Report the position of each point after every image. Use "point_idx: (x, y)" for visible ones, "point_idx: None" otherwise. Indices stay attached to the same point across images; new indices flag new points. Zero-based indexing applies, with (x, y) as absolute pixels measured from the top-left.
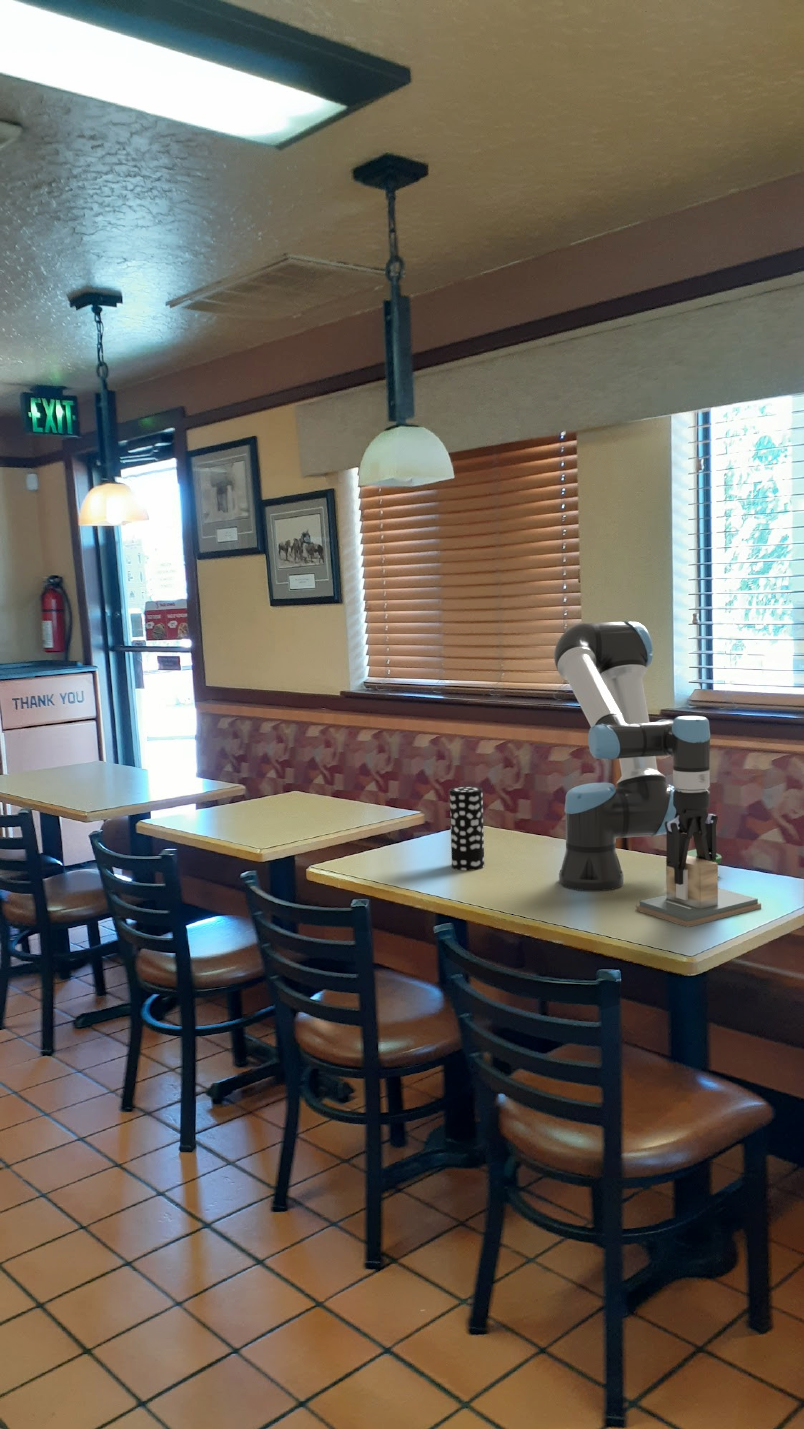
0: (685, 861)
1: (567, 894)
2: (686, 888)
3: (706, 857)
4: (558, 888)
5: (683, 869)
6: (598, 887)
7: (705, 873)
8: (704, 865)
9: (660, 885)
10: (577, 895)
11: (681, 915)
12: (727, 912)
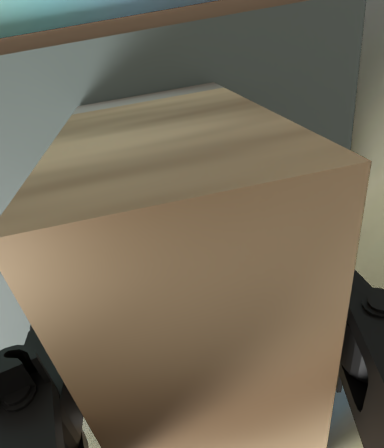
0: (380, 362)
1: (350, 411)
2: None
3: (38, 445)
4: (330, 443)
5: (359, 292)
6: None
7: (233, 146)
8: (273, 198)
9: None
10: (339, 403)
11: (357, 47)
12: (52, 30)
